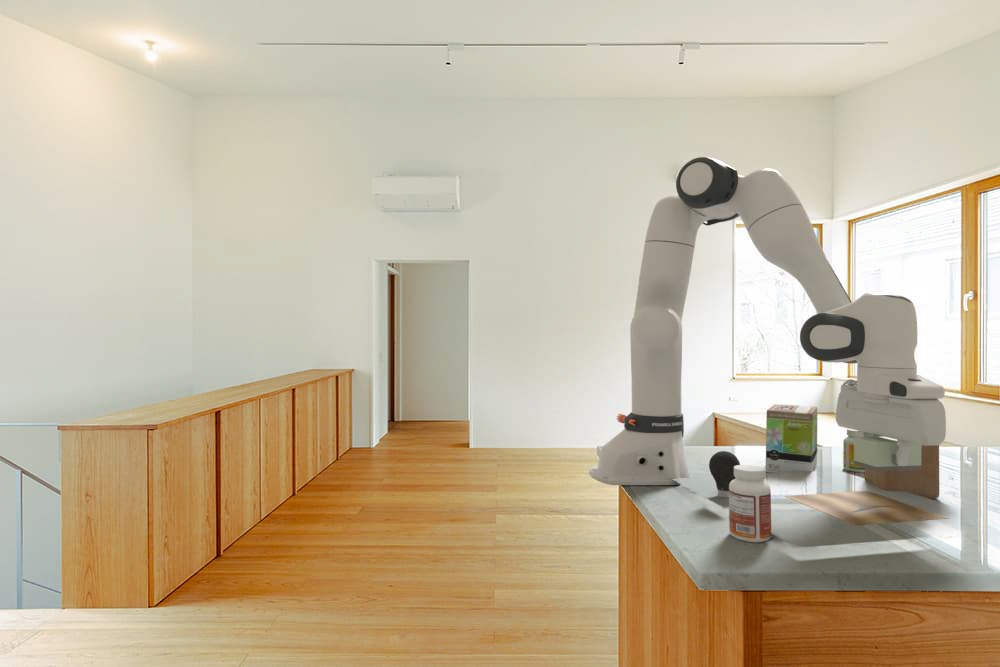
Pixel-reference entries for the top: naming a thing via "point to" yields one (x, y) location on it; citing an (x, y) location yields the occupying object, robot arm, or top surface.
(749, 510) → the pill bottle
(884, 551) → the top surface
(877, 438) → the block
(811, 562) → the top surface
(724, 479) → the light bulb
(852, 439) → the supplement bottle
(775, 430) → the tea box
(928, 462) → the wooden block
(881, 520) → the oak board
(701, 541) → the top surface
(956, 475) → the top surface
